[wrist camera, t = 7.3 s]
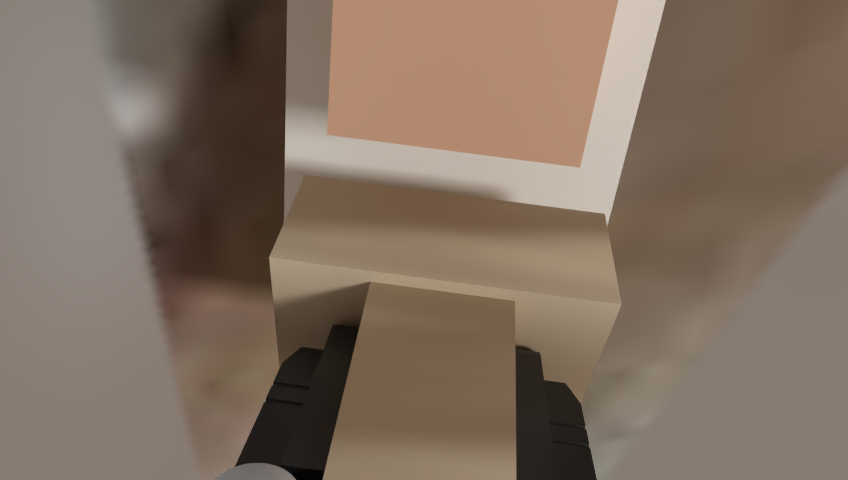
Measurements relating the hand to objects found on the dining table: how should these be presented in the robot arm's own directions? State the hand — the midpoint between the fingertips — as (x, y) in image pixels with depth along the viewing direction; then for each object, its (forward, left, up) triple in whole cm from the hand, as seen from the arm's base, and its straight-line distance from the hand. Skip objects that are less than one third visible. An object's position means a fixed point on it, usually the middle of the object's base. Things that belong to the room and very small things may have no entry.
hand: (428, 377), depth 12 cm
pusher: (-1, 0, -2) cm, 3 cm away
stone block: (-6, 0, -4) cm, 8 cm away
